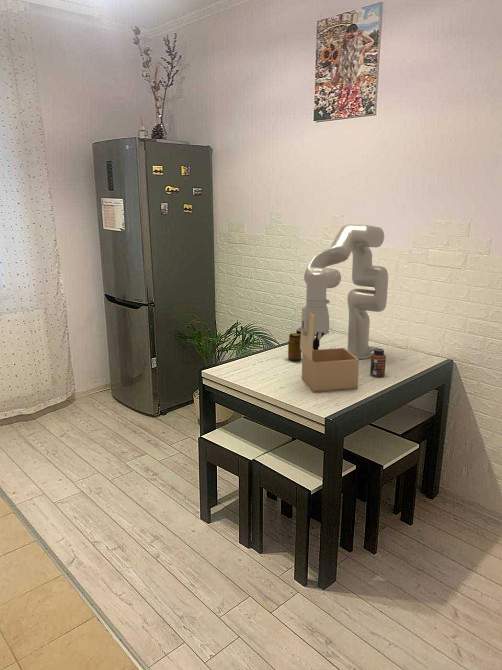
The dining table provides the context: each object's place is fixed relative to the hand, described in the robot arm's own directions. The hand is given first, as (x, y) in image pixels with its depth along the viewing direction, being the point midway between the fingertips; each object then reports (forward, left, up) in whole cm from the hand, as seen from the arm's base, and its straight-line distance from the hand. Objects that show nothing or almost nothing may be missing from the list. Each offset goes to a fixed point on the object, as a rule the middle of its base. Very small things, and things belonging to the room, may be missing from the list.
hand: (315, 349), depth 202 cm
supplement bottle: (-29, -5, -15) cm, 33 cm away
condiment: (-1, -32, -15) cm, 35 cm away
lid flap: (+3, 0, +7) cm, 7 cm away
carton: (-6, 0, -15) cm, 16 cm away
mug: (-11, -48, -15) cm, 52 cm away
